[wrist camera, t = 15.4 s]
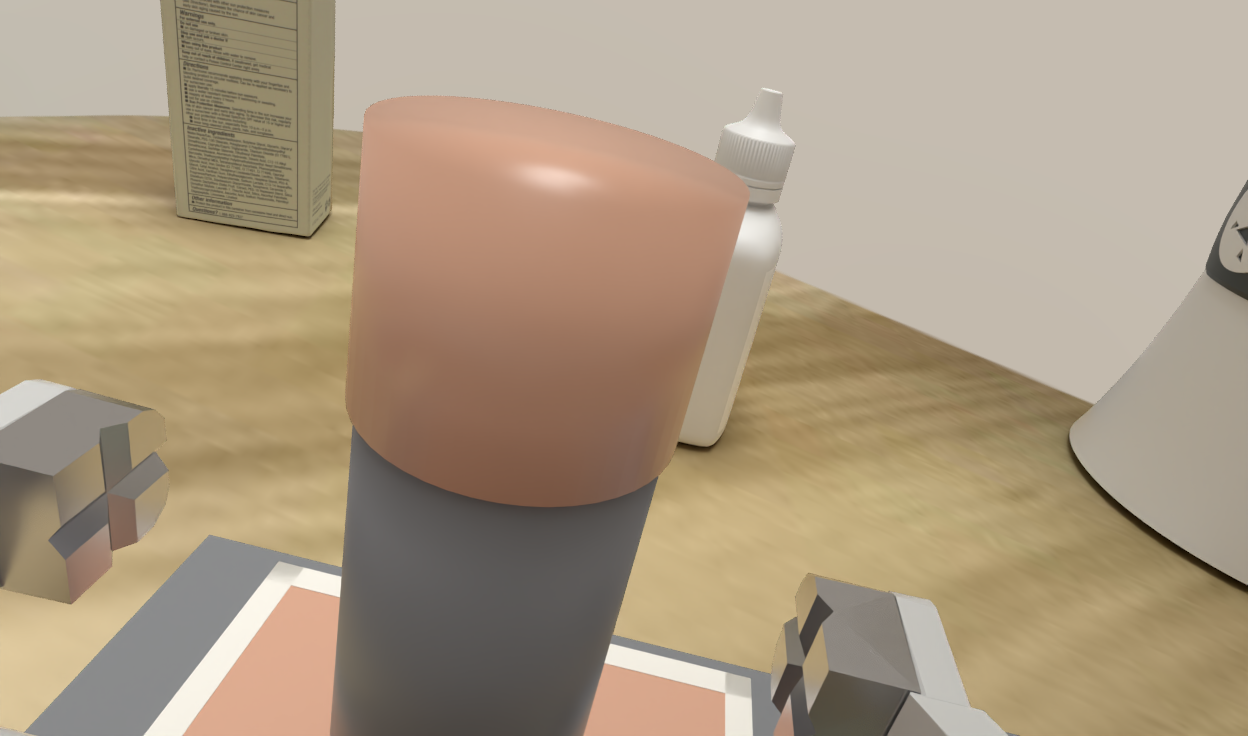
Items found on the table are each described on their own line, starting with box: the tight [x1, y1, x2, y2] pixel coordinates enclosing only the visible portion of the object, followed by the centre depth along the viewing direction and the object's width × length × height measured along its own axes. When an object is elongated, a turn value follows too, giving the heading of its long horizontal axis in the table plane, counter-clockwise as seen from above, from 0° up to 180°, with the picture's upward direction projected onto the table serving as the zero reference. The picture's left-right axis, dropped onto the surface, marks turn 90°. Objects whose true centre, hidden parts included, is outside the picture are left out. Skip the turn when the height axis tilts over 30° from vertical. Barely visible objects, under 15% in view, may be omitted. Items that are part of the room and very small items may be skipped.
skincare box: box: [160, 0, 335, 236], centre depth 36 cm, size 6×4×12 cm
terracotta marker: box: [330, 96, 750, 736], centre depth 11 cm, size 4×4×12 cm
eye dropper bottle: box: [678, 88, 795, 447], centre depth 28 cm, size 4×6×12 cm
